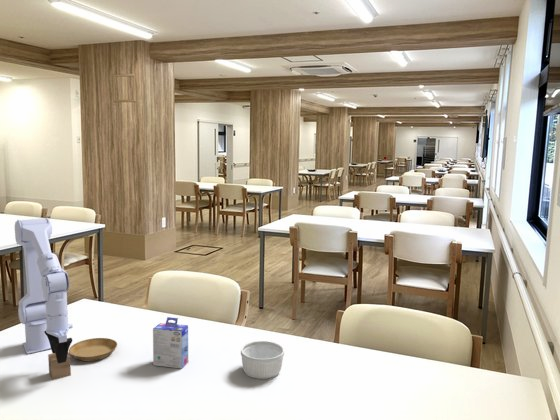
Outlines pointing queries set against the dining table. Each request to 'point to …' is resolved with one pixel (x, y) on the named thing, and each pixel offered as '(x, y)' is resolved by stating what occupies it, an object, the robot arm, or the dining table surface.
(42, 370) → the dining table surface
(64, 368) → the walnut block
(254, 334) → the dining table surface
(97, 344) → the plant saucer
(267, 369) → the ramekin
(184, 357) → the ink cartridge box
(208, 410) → the dining table surface
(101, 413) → the dining table surface
